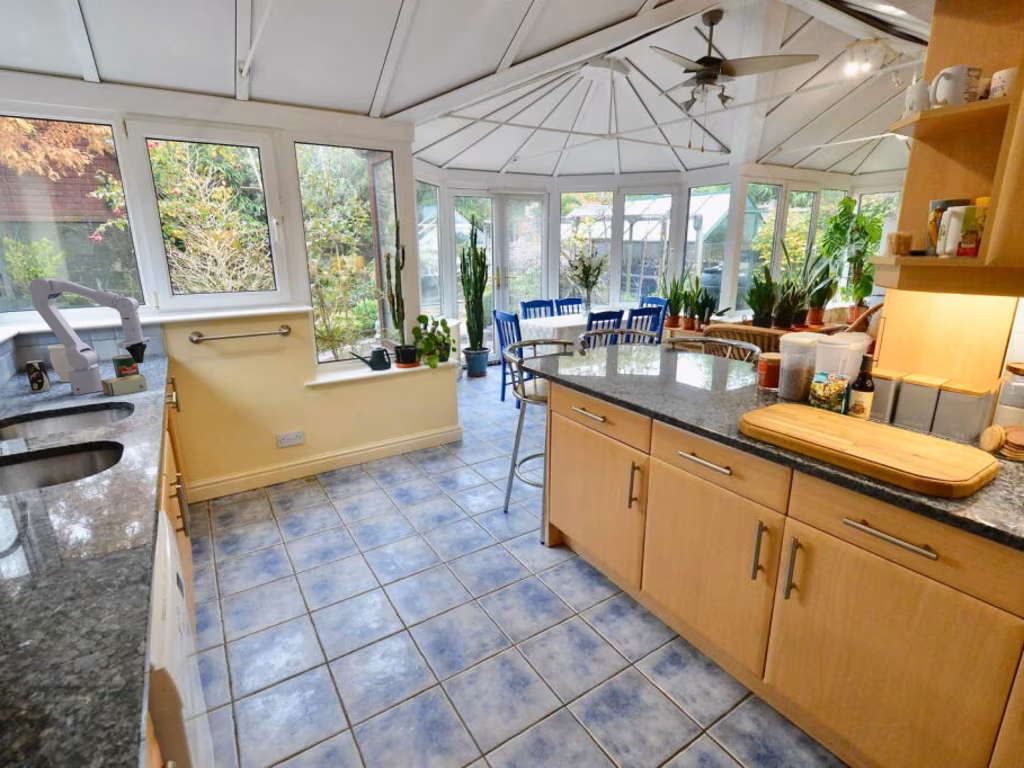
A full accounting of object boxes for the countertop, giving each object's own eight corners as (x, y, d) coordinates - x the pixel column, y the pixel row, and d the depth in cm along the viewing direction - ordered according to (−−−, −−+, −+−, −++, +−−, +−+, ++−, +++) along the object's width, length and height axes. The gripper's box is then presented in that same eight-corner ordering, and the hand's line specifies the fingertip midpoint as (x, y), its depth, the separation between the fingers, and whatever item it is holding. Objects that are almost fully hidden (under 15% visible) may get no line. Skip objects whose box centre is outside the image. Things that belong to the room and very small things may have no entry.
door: (110, 396, 190) (107, 383, 189) (109, 395, 191) (106, 382, 190) (148, 390, 198) (145, 377, 197) (147, 389, 199) (144, 377, 198)
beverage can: (54, 390, 200) (46, 360, 197) (34, 393, 195) (26, 363, 192) (49, 388, 203) (41, 358, 200) (30, 391, 198) (22, 361, 195)
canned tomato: (128, 385, 206) (122, 358, 203) (112, 384, 207) (106, 358, 205) (146, 380, 213) (140, 354, 210) (130, 379, 215) (124, 354, 212)
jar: (94, 377, 220) (86, 342, 216) (72, 383, 210) (63, 347, 206) (72, 376, 221) (63, 342, 217) (49, 382, 211) (39, 347, 207)
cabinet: (107, 396, 191) (104, 383, 190) (104, 393, 195) (101, 380, 194) (147, 388, 200) (144, 376, 199) (143, 386, 204) (140, 374, 203)
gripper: (127, 331, 189) (135, 367, 193) (155, 325, 203) (162, 358, 207) (109, 331, 190) (117, 367, 193) (138, 325, 204) (145, 358, 207)
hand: (139, 363), depth 200 cm, fingers closed
